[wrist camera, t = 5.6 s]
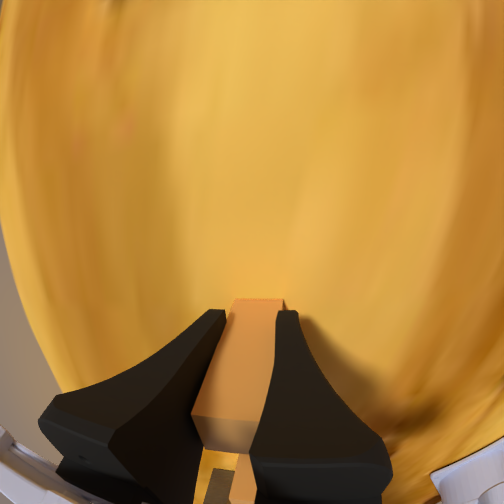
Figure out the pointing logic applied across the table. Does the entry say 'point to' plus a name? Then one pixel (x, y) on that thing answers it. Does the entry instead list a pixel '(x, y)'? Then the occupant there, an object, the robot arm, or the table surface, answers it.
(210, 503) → the housing
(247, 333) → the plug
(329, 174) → the table surface
